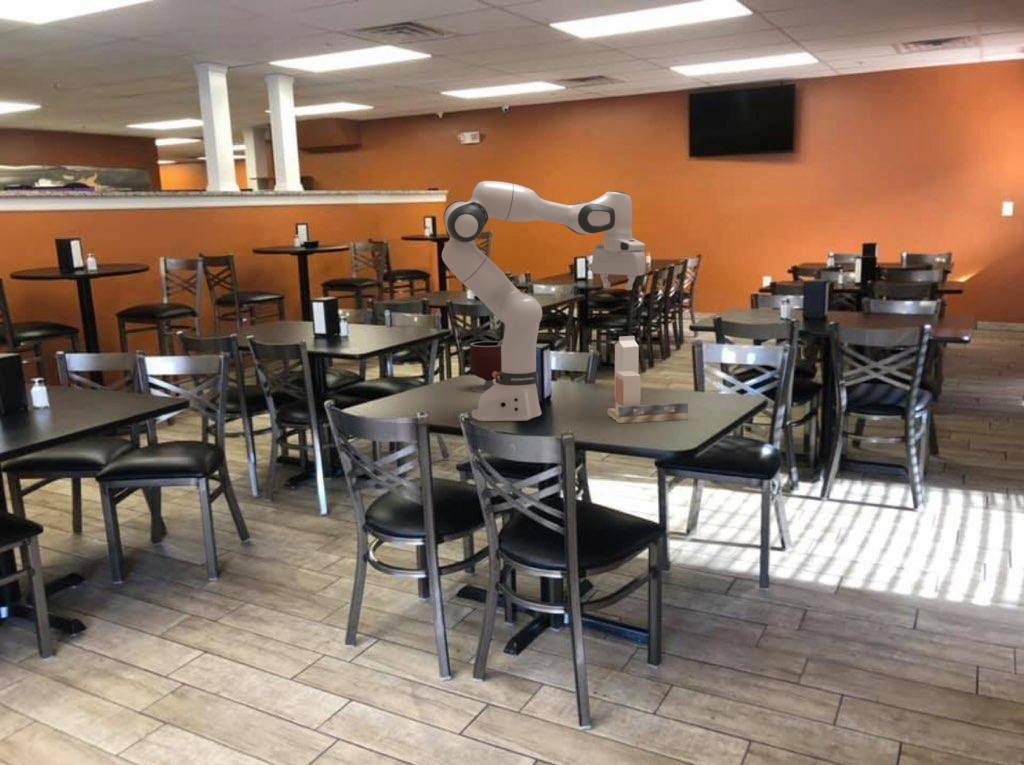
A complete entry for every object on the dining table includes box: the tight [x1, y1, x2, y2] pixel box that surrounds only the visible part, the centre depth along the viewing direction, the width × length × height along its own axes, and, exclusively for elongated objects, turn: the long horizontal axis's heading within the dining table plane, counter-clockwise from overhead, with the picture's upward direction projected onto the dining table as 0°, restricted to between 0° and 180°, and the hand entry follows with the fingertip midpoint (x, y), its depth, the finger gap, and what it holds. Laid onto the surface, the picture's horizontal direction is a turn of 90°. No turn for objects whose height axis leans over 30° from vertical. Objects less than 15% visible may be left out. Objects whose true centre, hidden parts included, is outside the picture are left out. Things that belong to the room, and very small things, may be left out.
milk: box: [614, 335, 640, 378], centre depth 287 cm, size 6×6×22 cm
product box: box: [614, 371, 642, 411], centre depth 262 cm, size 8×6×12 cm
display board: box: [607, 402, 689, 424], centre depth 263 cm, size 22×12×5 cm, turn 101°
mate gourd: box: [469, 338, 504, 394], centre depth 308 cm, size 16×14×20 cm
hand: (617, 289), depth 264 cm, fingers open, 8 cm apart
